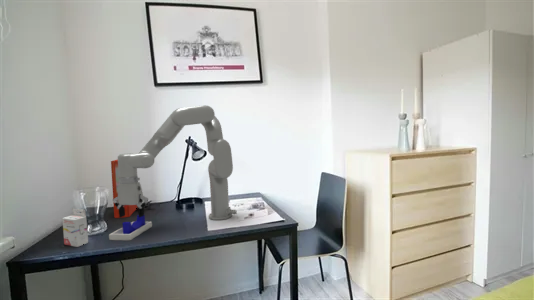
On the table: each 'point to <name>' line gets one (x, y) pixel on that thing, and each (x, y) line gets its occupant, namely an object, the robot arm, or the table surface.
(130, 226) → the cable clip
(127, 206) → the file binder
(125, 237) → the tray
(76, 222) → the ink cartridge box
